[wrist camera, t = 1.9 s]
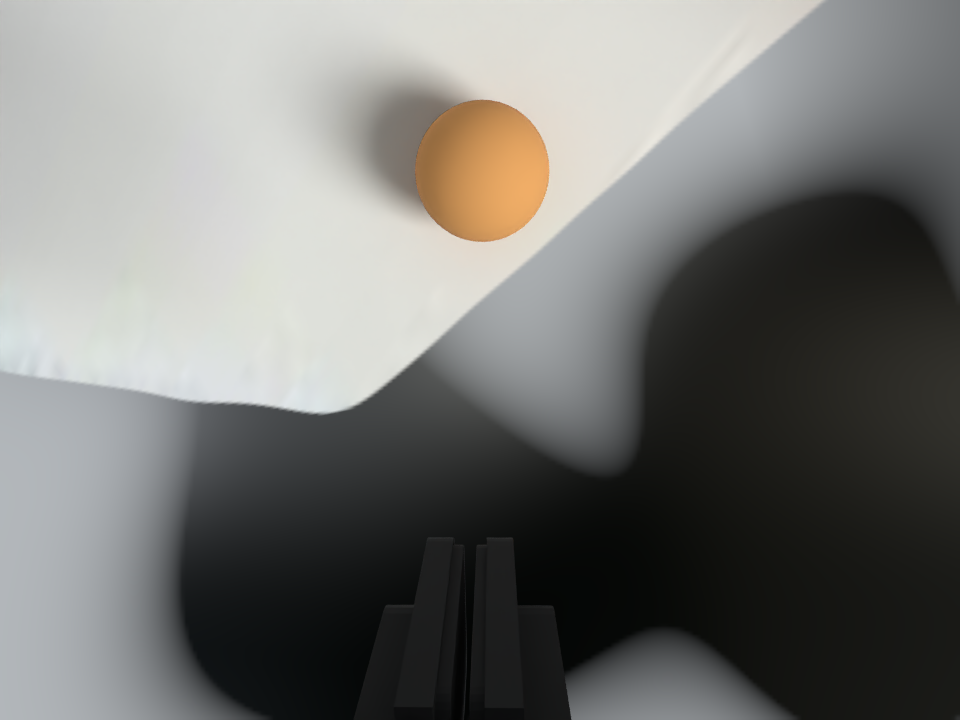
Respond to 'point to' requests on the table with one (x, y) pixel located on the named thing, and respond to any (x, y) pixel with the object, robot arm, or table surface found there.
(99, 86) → the table surface
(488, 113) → the ball
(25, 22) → the table surface
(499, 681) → the robot arm
